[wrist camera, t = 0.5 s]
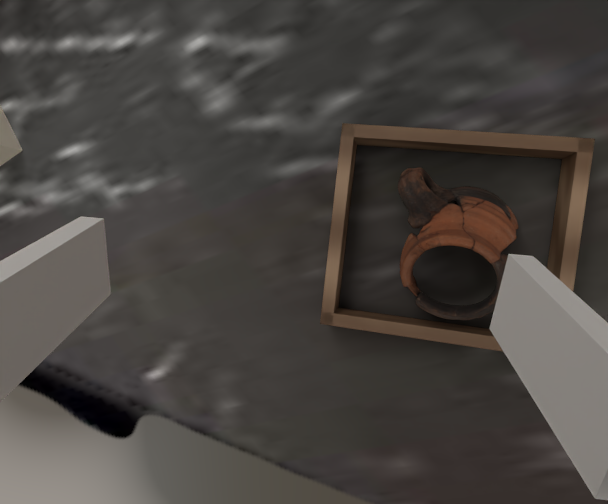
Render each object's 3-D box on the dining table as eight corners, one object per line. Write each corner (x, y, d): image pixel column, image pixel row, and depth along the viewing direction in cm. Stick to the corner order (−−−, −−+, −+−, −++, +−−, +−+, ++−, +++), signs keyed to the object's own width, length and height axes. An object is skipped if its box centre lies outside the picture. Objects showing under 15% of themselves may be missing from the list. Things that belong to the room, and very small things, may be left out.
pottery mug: (546, 237, 36) (555, 297, 29) (448, 288, 42) (437, 348, 35) (451, 123, 34) (438, 159, 28) (362, 192, 40) (333, 237, 33)
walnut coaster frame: (346, 132, 38) (342, 123, 35) (577, 147, 35) (594, 138, 32) (325, 317, 39) (320, 323, 36) (549, 350, 36) (563, 360, 33)
